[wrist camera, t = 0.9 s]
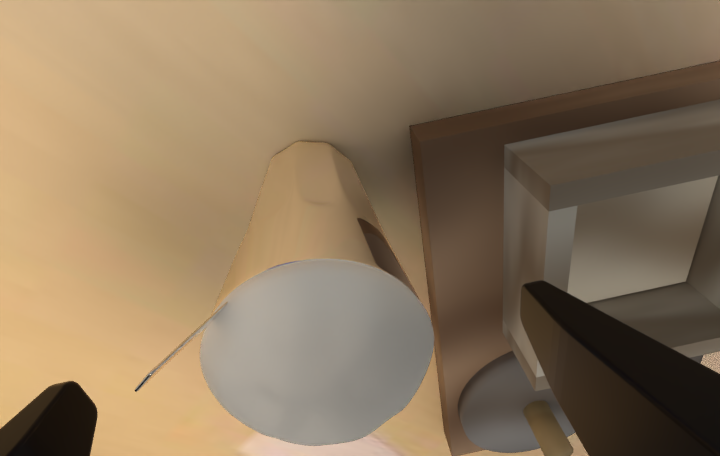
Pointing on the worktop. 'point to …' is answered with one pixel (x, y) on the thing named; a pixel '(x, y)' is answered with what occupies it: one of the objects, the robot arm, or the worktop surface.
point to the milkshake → (314, 311)
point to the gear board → (566, 238)
